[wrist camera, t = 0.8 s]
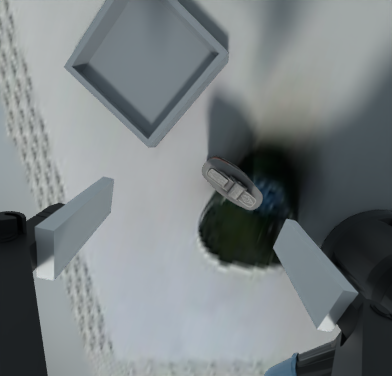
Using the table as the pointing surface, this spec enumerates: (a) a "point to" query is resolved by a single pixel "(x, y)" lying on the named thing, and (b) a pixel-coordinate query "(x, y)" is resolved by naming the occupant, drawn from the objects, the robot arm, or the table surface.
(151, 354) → the table surface
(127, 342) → the table surface
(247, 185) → the lighter
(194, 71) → the tray
